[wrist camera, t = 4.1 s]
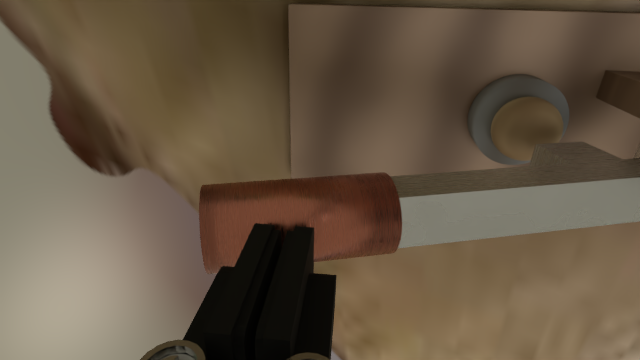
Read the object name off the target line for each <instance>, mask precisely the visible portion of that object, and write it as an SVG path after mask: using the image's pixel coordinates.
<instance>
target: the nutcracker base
mask: <svg viewBox="0 0 640 360" xmlns="http://www.w3.org/2000/svg"><path fill="white" fill-rule="evenodd" d="M288 18H289V78H290V138H291V179H294V178H308V177H322V176H336V175H350V174H364V173H378V172H385V173H387V174H388V175H389V176H402V175H416V174H429V173H443V172H456V171H470V170H484V169H497V168H511V167H524V166H529V164H530V161H531V158H532V154H533V151H534V148H535V145H536V144H547V143H563V142H580V141H583V142H585V143H587V144H590V145H592V146H594V147H596V148H599V149H601V150H603V151H605V152H608V153H610V154H612V155H614V156H616V157H619V158H621V159H633V158H634V156H635V154H636V152H637V149H638V147H639V145H640V12H607V11H569V10H532V9H494V8H456V7H418V6H381V5H343V4H305V3H293V4H288Z"/></svg>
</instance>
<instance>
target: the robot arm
mask: <svg viewBox="0 0 640 360" xmlns="http://www.w3.org/2000/svg"><path fill="white" fill-rule="evenodd" d="M313 269H314V228H313V227H300V226H295V228H294V231H287V233H286V236H285V240H284V243H283V246H282V235H281V230H275V226H274V225H272V224H259V223H255V224H254V226H253V228H252V230H251V232H250V234H249V236H248V239H247V241H246V243H245V245H244V247H243V249H242V251H241V253H240V256H239V258H238V260H237V262H236V264H235V266H234V267H230V266H223V267H221V268H220V270H219V271H218V273H217V275H216V277H215V279H214V281H213V283H212V285H211V287H210V289H209V290H208V292H207V294H206V296H205V298H204V300H203V302H202V304H201V306H200V308H199V310H198V312H197V314H196V316H195V317H194V319H193V321H192V323H191V325H190V327H189V329H188V331H187V333H186V335H185V337H184V339H183V340H174V341H168V342H166V343H163V344H160V345H158V346H156V347H155V348H154V349H152V350H150V351H148V352H147V353H146V354H145V355H144V356H143V357H142V358H141V359H140V360H330V359H331V347H332V335H333V322H334V308H335V292H336V275H327V274H315V273H313Z"/></svg>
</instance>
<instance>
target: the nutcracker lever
mask: <svg viewBox="0 0 640 360" xmlns="http://www.w3.org/2000/svg"><path fill="white" fill-rule="evenodd" d="M199 220H200V238H201V248H202V255H203V261H204V266H205V270H206V272H207V274H214V273H218V271H219V270H220V268H221V267H223V266H230V267H234V266H235V264H236V262H237V260H238V258H239V256H240V253H241V251H242V249H243V247H244V245H245V243H246V241H247V239H248V236H249V234H250V232H251V230H252V228H253V226H254V224H255V223H259V224H272V225H274V226H275V230H281V235H282V246H283V243H284V240H285V236H286V233H287V231H294V228H295V226H300V227H313V228H314V262H320V261H329V260H338V259H347V258H355V257H364V256H373V255H382V254H391V253H394V252H395V251H396V250H397V249H398V248H404V247H413V246H422V245H431V244H440V243H449V242H458V241H467V240H476V239H485V238H494V237H503V236H512V235H521V234H530V233H539V232H548V231H557V230H566V229H575V228H584V227H593V226H602V225H611V224H620V223H629V222H638V221H640V158H633V159H621V158H619V157H616V156H614V155H612V154H610V153H608V152H605V151H603V150H601V149H599V148H596V147H594V146H592V145H590V144H587V143H585V142H583V141H580V142H563V143H547V144H536V145H535V148H534V151H533V154H532V158H531V161H530V164H529V166H524V167H511V168H497V169H484V170H470V171H456V172H443V173H429V174H416V175H402V176H389V175H388V174H387V173H385V172H378V173H364V174H350V175H336V176H322V177H308V178H294V179H280V180H266V181H251V182H237V183H223V184H209V185H202V187H201V191H200V203H199Z"/></svg>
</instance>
